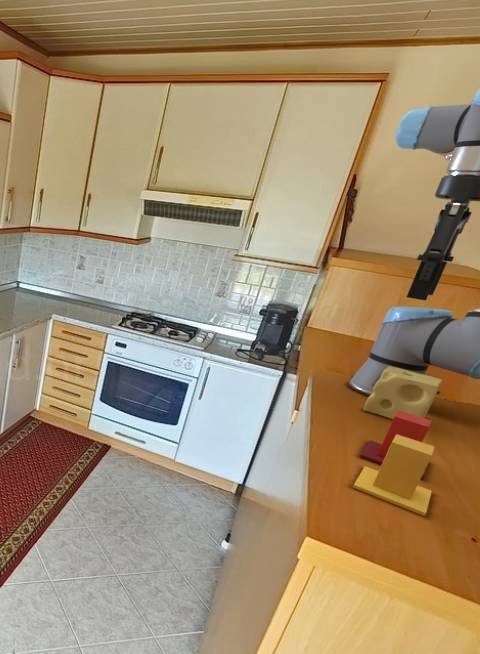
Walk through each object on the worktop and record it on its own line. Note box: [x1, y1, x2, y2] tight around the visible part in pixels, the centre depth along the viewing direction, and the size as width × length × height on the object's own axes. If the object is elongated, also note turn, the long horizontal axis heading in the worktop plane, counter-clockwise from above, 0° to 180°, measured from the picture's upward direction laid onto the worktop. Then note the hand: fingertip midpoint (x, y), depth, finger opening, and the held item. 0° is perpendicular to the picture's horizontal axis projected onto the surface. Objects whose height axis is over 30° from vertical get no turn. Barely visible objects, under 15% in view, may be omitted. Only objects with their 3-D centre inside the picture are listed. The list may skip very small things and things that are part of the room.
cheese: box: [363, 366, 443, 420], centre depth 112 cm, size 10×11×10 cm
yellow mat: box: [352, 465, 433, 517], centre depth 79 cm, size 10×9×1 cm
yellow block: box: [373, 434, 435, 499], centre depth 78 cm, size 5×5×8 cm
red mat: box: [359, 439, 428, 480], centre depth 90 cm, size 10×9×1 cm
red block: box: [377, 410, 432, 458], centre depth 89 cm, size 5×5×8 cm
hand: (419, 296), depth 92 cm, fingers open, 13 cm apart
